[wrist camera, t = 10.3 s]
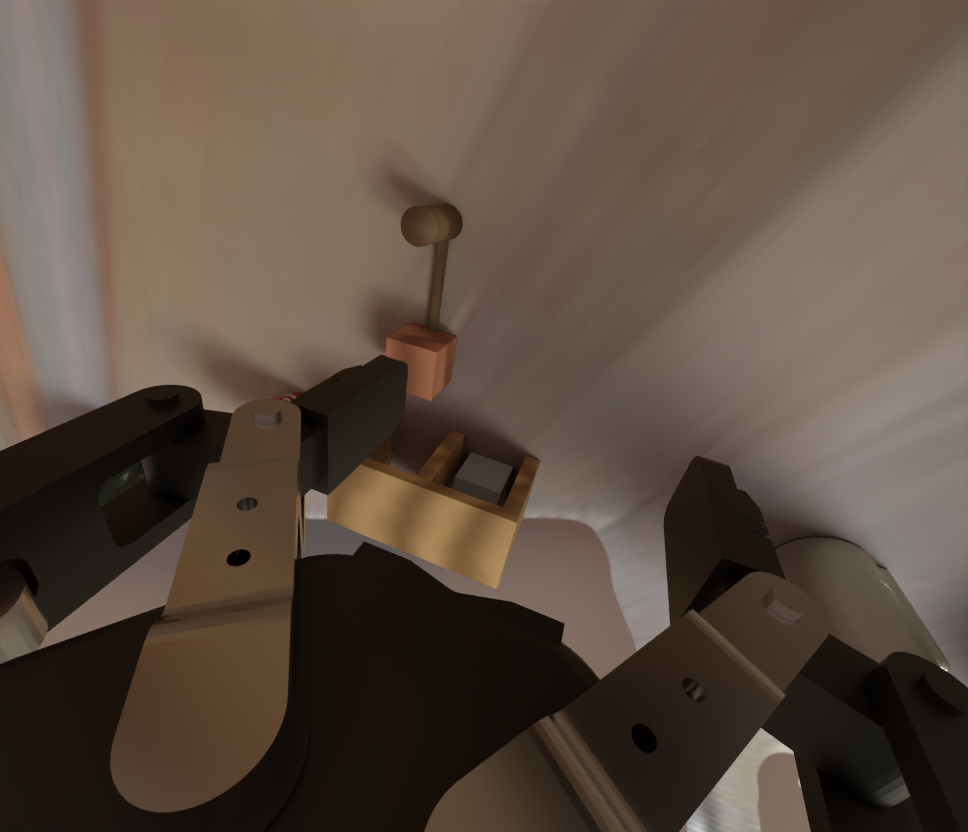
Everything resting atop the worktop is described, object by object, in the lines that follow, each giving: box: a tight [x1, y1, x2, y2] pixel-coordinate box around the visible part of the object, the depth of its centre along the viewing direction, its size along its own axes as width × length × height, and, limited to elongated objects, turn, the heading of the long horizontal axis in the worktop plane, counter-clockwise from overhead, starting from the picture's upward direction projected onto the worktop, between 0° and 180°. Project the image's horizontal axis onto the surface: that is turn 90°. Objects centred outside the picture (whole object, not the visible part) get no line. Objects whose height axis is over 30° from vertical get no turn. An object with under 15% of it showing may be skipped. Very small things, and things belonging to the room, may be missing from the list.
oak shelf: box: [327, 430, 540, 589], centre depth 45 cm, size 19×9×10 cm, turn 78°
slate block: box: [453, 452, 513, 507], centre depth 47 cm, size 5×5×5 cm
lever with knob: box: [385, 205, 462, 401], centre depth 39 cm, size 5×16×6 cm, turn 169°
